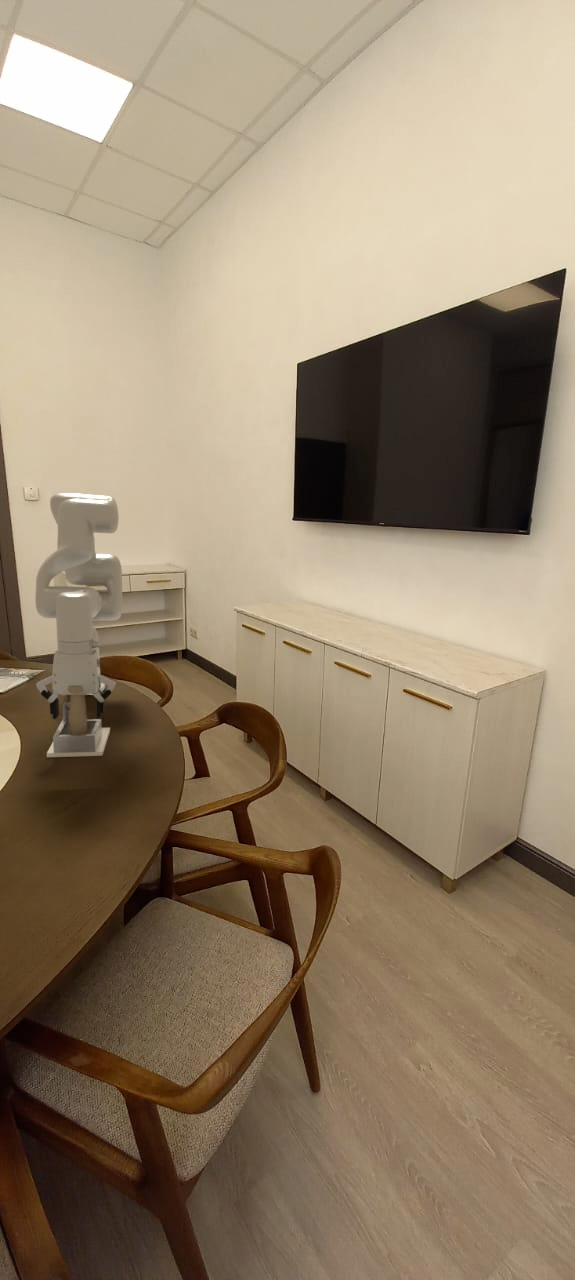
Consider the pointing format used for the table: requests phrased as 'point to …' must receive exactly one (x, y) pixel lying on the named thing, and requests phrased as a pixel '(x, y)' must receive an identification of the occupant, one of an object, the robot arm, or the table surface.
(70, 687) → the handle
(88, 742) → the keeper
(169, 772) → the table surface
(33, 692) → the table surface
